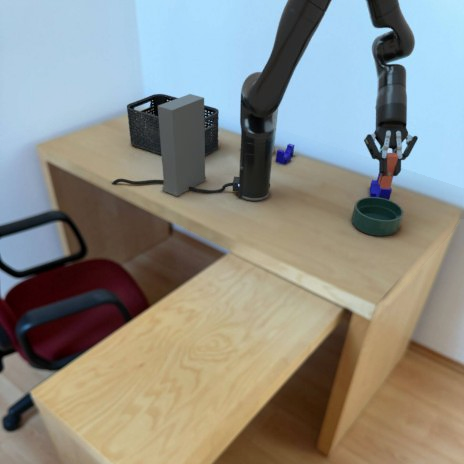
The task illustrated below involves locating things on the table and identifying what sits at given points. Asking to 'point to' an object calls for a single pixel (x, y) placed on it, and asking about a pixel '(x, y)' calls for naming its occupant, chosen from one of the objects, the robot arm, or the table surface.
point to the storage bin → (147, 121)
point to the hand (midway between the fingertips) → (390, 174)
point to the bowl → (377, 216)
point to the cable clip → (379, 190)
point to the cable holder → (285, 154)
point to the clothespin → (388, 171)
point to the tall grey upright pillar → (182, 143)
